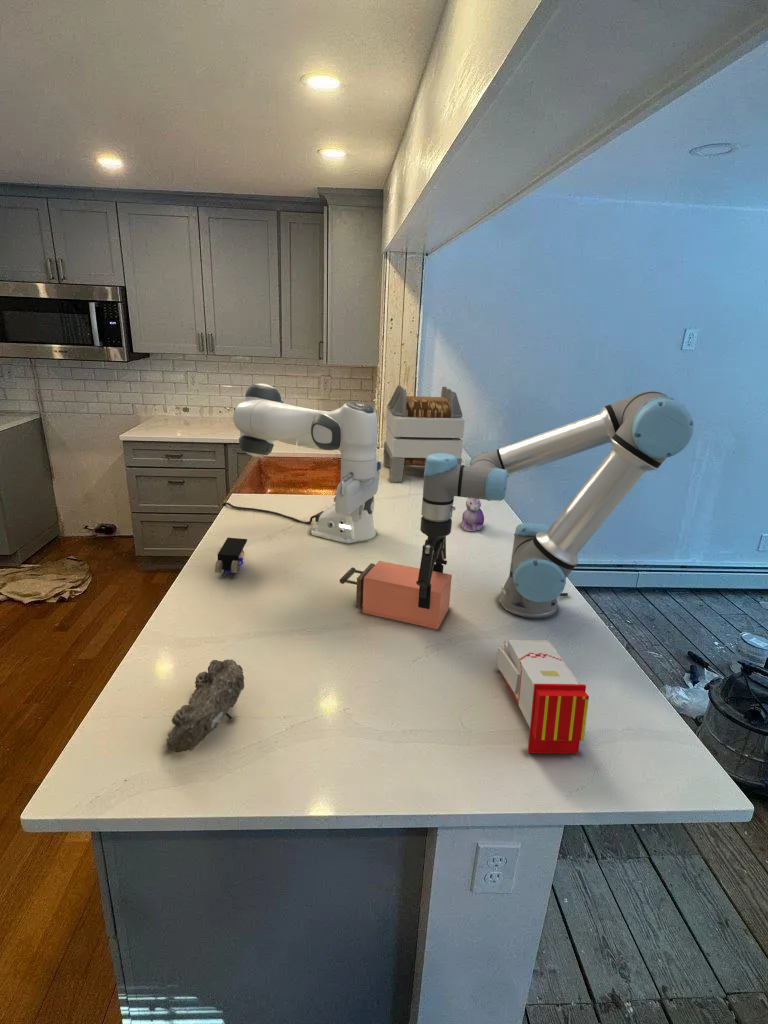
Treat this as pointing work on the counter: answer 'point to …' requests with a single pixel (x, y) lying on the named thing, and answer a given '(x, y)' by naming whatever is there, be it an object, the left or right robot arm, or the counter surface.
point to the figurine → (472, 515)
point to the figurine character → (230, 556)
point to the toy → (545, 695)
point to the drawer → (359, 582)
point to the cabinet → (405, 595)
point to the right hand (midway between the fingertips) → (430, 597)
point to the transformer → (421, 429)
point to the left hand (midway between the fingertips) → (356, 520)
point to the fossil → (206, 705)
